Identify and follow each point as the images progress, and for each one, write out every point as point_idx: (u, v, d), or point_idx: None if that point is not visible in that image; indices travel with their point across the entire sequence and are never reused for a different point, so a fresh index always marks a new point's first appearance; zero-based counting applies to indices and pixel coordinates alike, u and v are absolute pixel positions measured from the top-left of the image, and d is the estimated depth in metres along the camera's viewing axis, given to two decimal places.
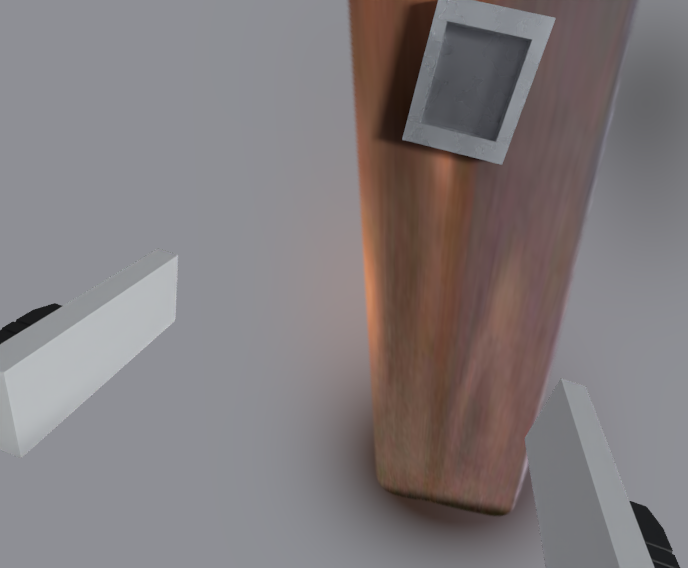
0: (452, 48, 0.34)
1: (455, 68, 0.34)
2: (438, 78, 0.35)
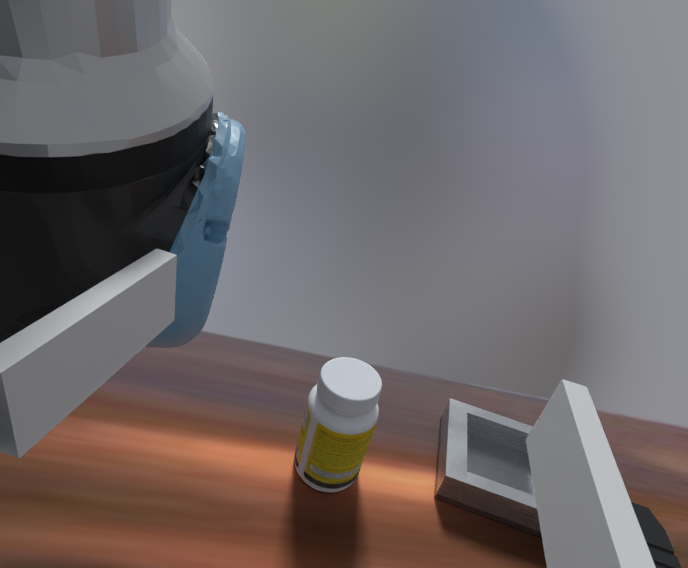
0: None
1: None
2: None
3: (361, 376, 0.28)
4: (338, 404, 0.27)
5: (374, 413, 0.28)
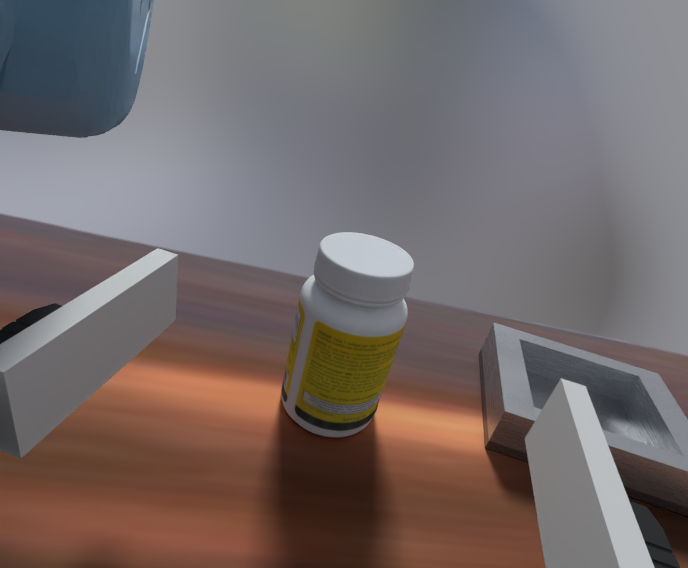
0: None
1: None
2: None
3: (382, 252, 0.18)
4: (349, 285, 0.17)
5: (402, 310, 0.19)
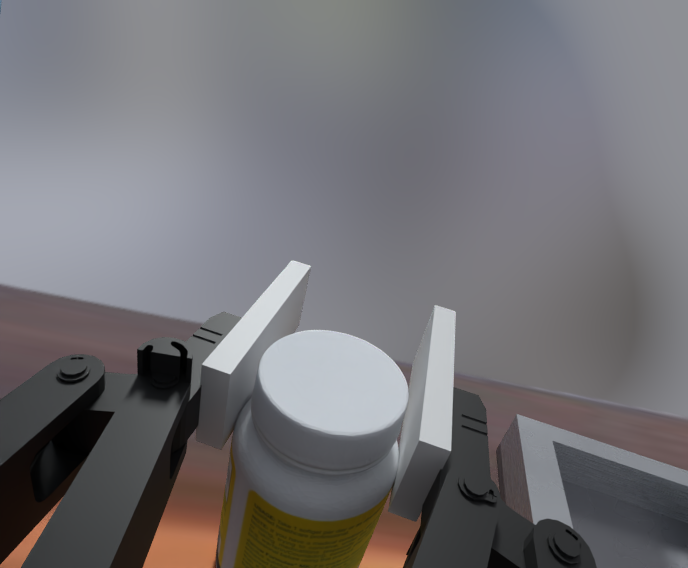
0: None
1: None
2: None
3: (359, 372, 0.12)
4: (299, 445, 0.10)
5: (390, 461, 0.12)
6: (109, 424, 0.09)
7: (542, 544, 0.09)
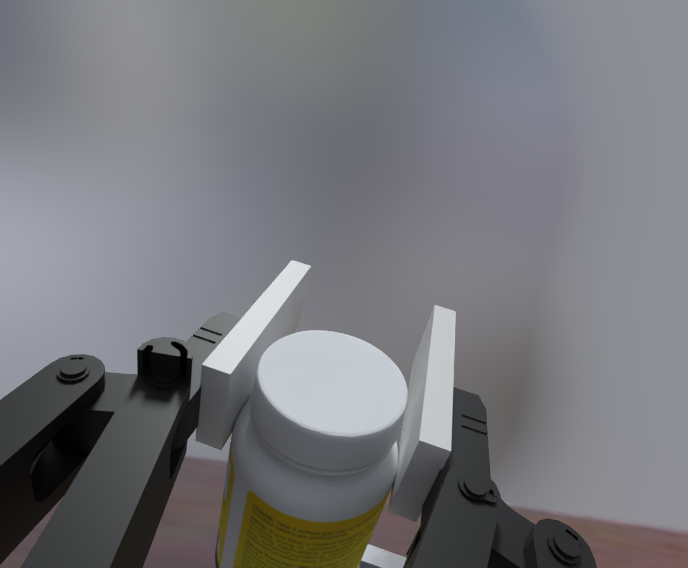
0: None
1: None
2: None
3: (358, 373, 0.12)
4: (298, 446, 0.10)
5: (389, 462, 0.12)
6: (109, 425, 0.09)
7: (542, 544, 0.09)
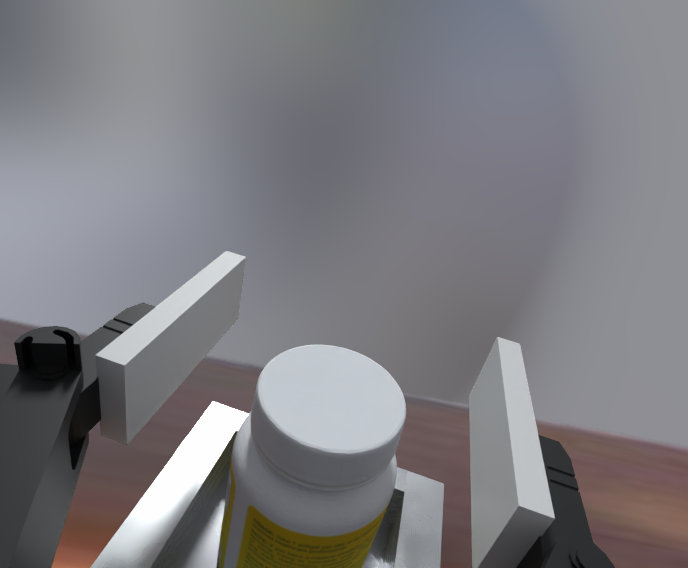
0: None
1: None
2: None
3: (357, 388, 0.12)
4: (298, 462, 0.10)
5: (388, 476, 0.12)
6: None
7: None
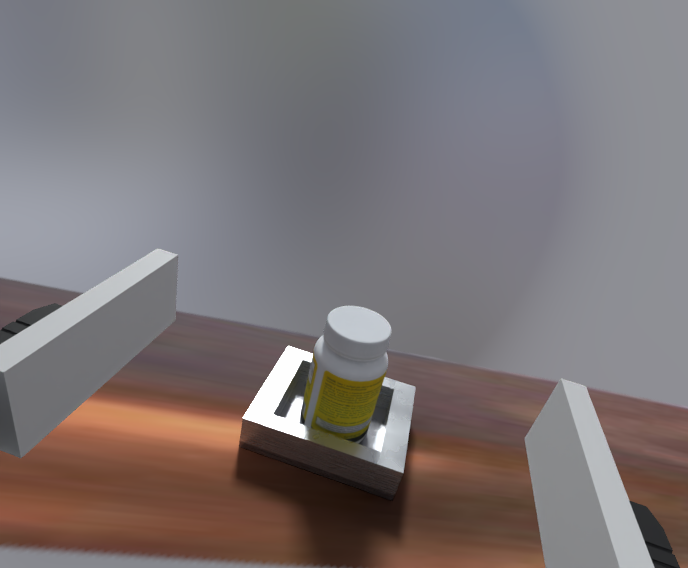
0: None
1: None
2: None
3: (369, 322, 0.27)
4: (347, 347, 0.25)
5: (384, 361, 0.27)
6: None
7: None
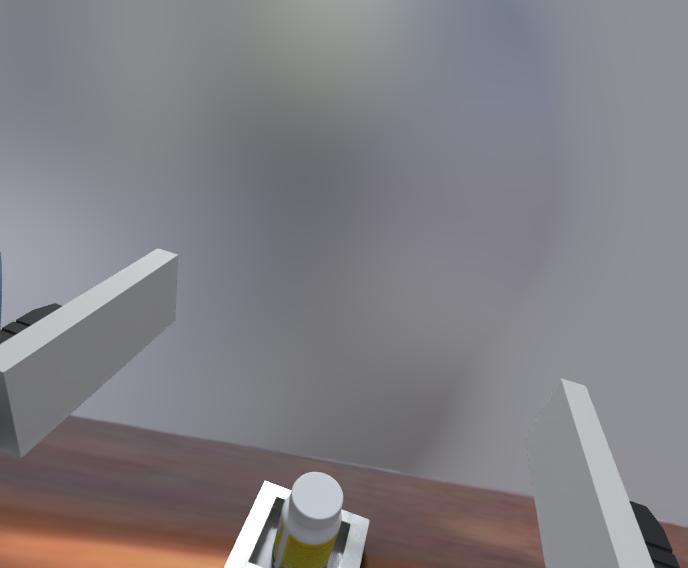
0: None
1: None
2: None
3: (326, 492, 0.34)
4: (305, 521, 0.32)
5: (337, 523, 0.34)
6: None
7: None
